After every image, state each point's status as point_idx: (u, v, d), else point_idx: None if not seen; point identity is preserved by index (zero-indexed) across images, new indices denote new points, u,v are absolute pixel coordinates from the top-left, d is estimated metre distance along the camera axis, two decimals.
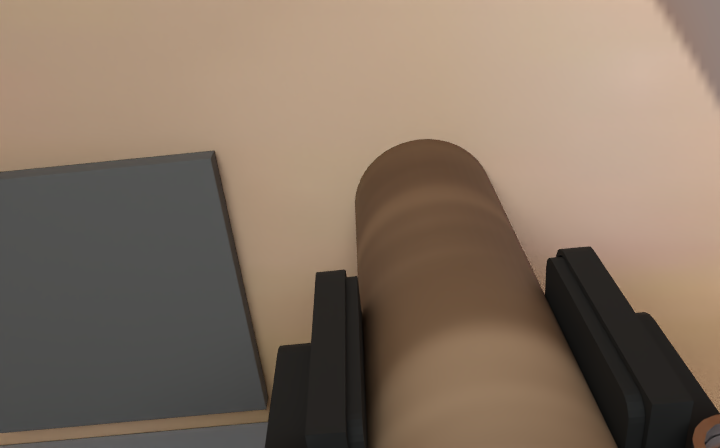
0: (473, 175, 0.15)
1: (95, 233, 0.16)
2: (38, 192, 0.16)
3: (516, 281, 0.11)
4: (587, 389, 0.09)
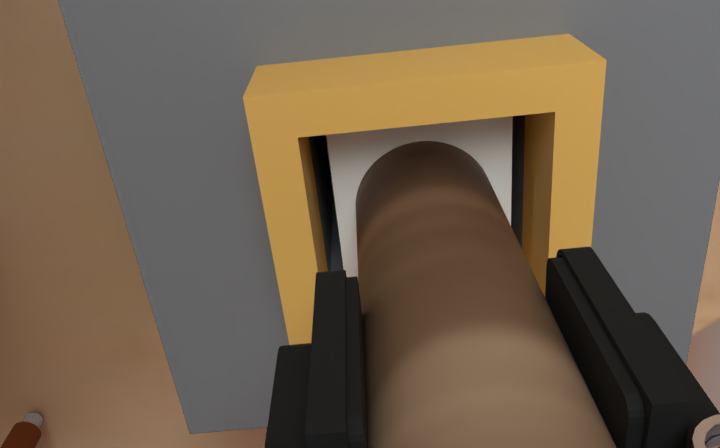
0: (474, 177, 0.15)
1: None
2: None
3: (515, 283, 0.11)
4: (587, 391, 0.09)
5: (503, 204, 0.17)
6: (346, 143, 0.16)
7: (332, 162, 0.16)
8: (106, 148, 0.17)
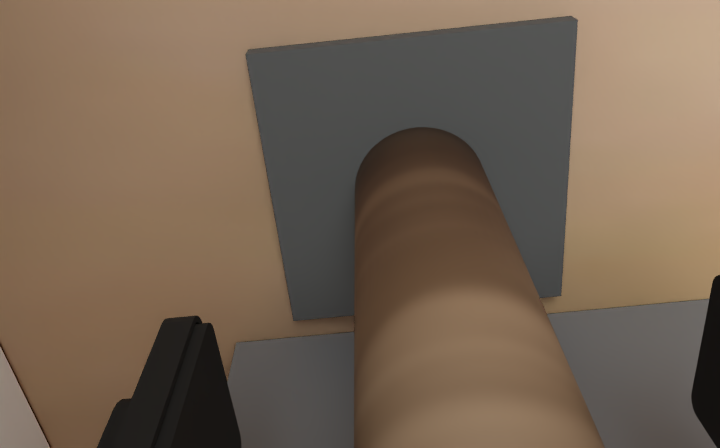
0: (466, 160, 0.15)
1: (443, 101, 0.16)
2: (399, 56, 0.16)
3: (497, 252, 0.11)
4: (558, 347, 0.10)
5: None
6: None
7: None
8: None
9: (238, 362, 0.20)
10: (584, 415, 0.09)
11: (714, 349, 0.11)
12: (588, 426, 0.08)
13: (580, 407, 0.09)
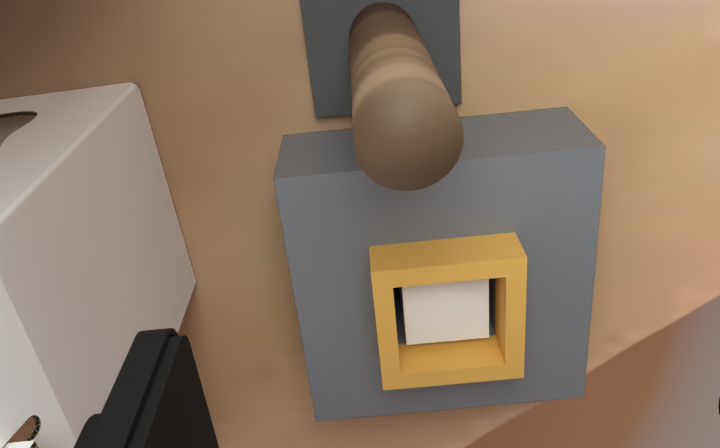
0: (403, 13, 0.32)
1: None
2: None
3: (409, 31, 0.28)
4: (427, 53, 0.26)
5: (485, 307, 0.34)
6: None
7: (403, 289, 0.34)
8: (293, 281, 0.34)
9: (285, 141, 0.36)
10: (430, 60, 0.25)
11: None
12: (430, 61, 0.25)
13: (429, 59, 0.25)
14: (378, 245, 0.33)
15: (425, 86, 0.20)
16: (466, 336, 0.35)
